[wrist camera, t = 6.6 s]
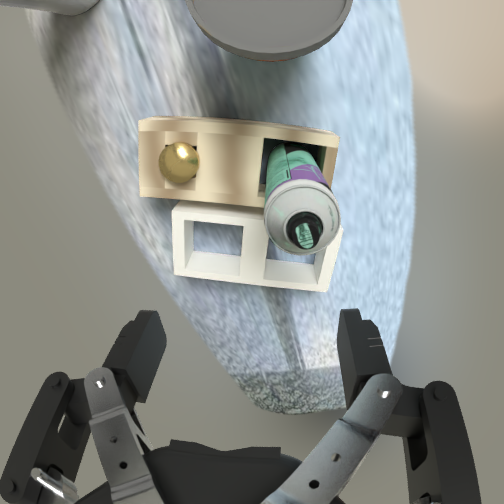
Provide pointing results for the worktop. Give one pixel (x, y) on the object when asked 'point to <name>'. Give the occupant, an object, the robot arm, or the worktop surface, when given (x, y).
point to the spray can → (298, 202)
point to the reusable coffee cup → (270, 25)
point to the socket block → (222, 156)
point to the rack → (244, 250)
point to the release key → (179, 162)
